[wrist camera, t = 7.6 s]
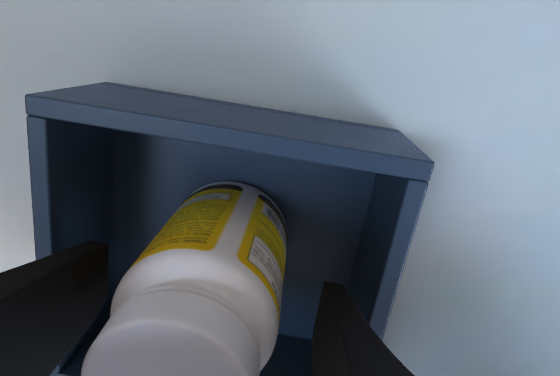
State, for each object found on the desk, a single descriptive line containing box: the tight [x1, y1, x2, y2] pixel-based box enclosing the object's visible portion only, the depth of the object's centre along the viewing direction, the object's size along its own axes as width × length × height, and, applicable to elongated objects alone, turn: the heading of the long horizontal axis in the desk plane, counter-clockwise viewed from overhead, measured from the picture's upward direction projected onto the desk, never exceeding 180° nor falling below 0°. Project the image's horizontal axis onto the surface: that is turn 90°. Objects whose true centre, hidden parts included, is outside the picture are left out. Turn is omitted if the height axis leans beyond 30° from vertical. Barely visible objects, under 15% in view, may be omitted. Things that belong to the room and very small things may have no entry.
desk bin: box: [25, 82, 434, 376], centre depth 15 cm, size 11×12×5 cm
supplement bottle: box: [81, 181, 287, 376], centre depth 13 cm, size 5×5×8 cm
